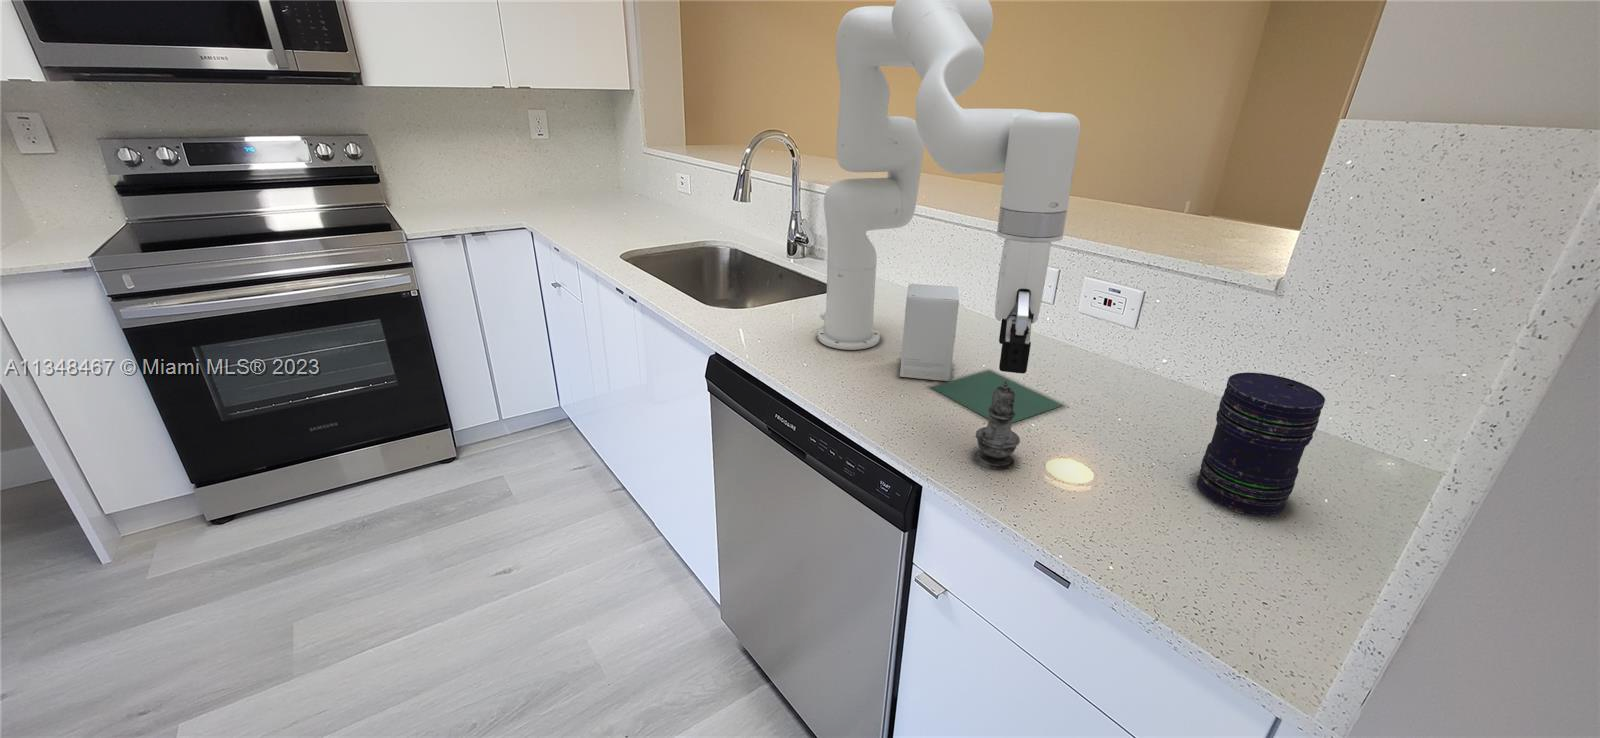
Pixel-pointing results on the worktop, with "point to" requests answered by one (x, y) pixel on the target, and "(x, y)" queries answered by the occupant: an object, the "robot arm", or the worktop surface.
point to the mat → (980, 390)
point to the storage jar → (1258, 443)
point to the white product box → (929, 331)
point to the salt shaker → (998, 431)
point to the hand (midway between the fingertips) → (1011, 357)
